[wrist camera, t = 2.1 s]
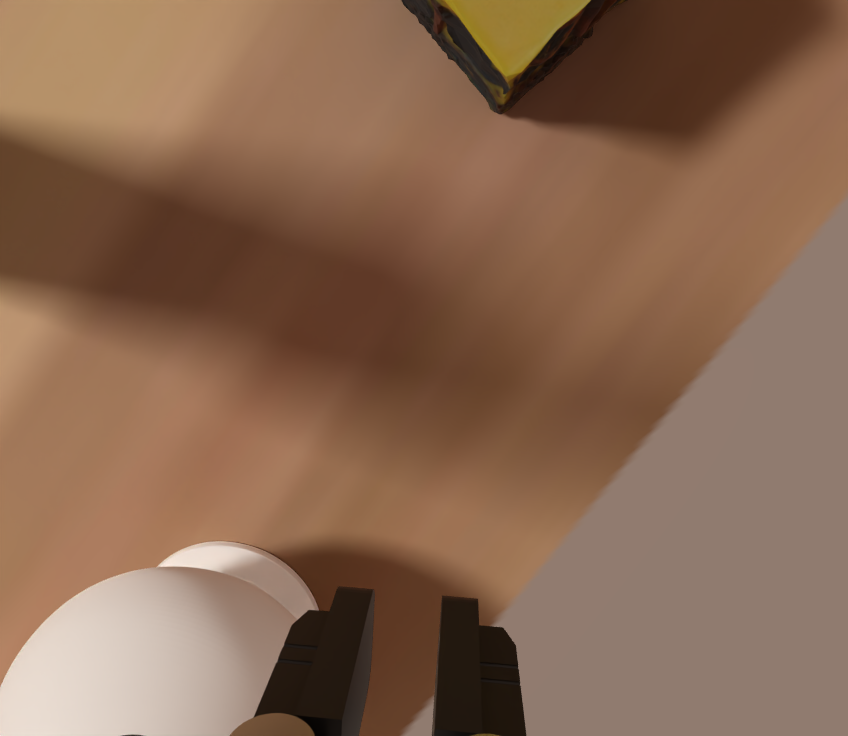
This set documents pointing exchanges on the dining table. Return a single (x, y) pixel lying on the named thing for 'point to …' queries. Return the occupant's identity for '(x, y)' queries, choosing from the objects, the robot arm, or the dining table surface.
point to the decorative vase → (158, 649)
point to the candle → (508, 39)
